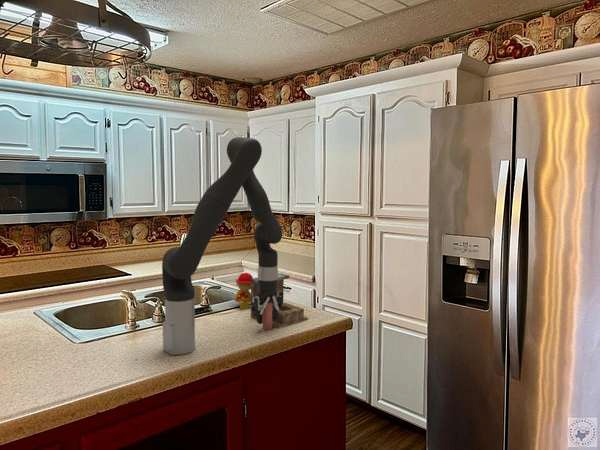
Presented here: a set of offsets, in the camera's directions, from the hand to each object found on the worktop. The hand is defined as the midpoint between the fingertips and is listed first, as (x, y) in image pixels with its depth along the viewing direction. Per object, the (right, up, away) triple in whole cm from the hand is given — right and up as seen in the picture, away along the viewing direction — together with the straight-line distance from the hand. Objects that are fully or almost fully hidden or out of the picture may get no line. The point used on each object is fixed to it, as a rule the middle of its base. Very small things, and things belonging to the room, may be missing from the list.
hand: (267, 321), depth 165 cm
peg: (0, -3, 0) cm, 3 cm away
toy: (-11, 0, +27) cm, 29 cm away
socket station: (+4, -1, +12) cm, 13 cm away
